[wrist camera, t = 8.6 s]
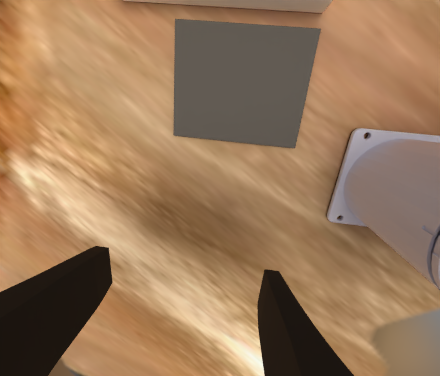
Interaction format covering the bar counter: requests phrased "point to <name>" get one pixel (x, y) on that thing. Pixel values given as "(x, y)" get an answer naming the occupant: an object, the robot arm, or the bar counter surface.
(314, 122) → the bar counter surface
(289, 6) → the block
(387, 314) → the bar counter surface
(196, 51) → the mat
